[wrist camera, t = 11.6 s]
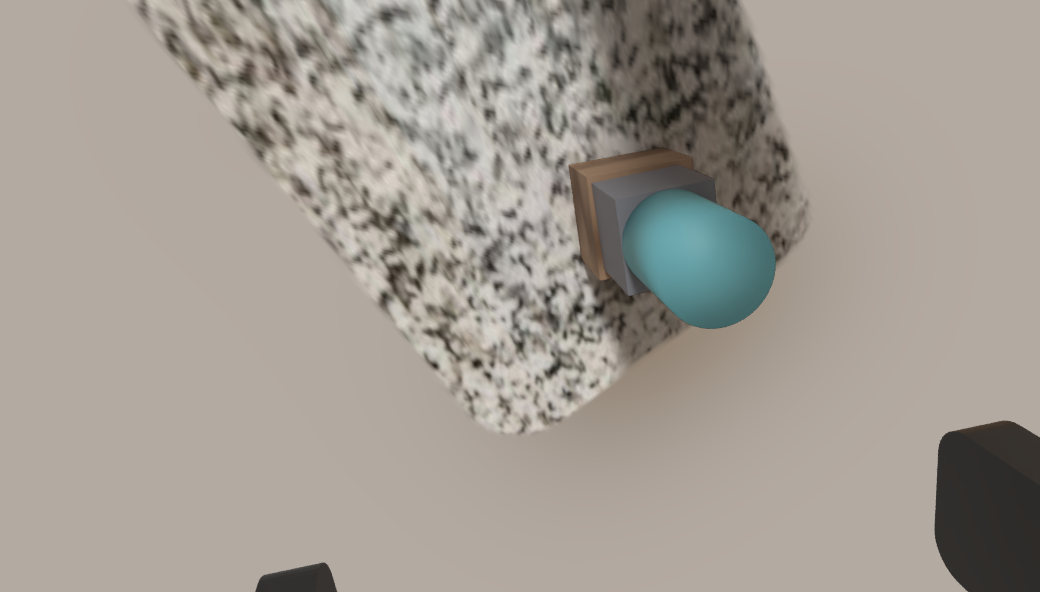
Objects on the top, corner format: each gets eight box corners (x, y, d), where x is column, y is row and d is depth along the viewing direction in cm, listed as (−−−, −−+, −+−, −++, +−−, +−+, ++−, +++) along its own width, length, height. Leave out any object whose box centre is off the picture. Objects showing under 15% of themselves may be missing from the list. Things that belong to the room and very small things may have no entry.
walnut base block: (568, 164, 44) (586, 177, 40) (662, 147, 45) (692, 157, 40) (581, 258, 46) (599, 280, 42) (671, 240, 47) (700, 260, 42)
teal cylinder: (616, 198, 35) (655, 225, 29) (716, 180, 35) (773, 203, 30) (627, 295, 37) (666, 338, 31) (722, 277, 37) (777, 316, 31)
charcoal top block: (591, 183, 40) (614, 199, 35) (678, 164, 40) (714, 178, 35) (604, 269, 41) (628, 296, 37) (688, 250, 42) (723, 274, 37)
